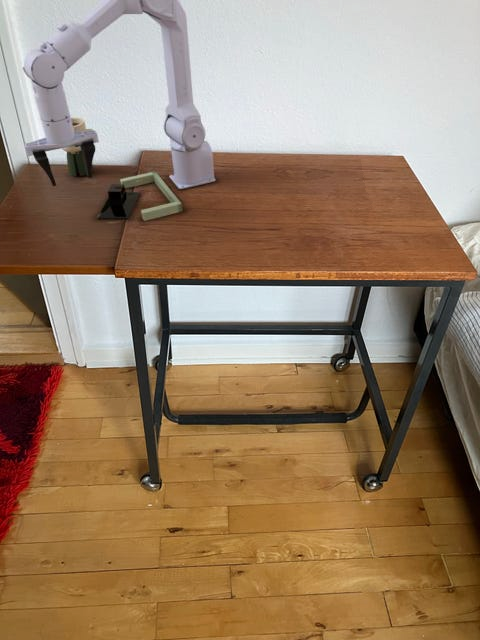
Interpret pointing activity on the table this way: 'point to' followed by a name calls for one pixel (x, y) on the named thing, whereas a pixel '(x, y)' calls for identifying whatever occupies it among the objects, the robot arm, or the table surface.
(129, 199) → the build plate
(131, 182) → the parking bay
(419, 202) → the table surface
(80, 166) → the character mug
